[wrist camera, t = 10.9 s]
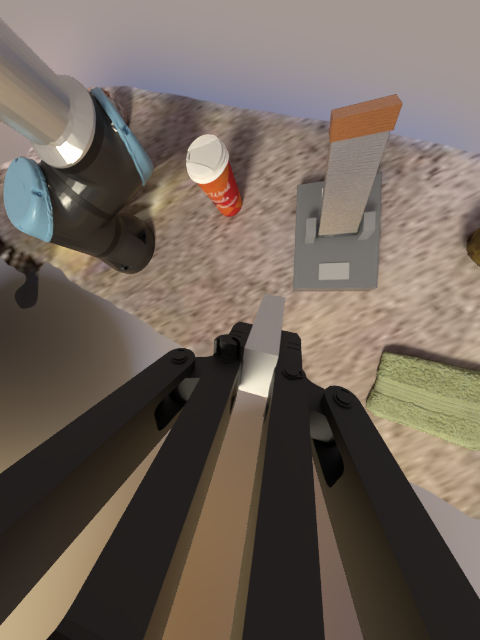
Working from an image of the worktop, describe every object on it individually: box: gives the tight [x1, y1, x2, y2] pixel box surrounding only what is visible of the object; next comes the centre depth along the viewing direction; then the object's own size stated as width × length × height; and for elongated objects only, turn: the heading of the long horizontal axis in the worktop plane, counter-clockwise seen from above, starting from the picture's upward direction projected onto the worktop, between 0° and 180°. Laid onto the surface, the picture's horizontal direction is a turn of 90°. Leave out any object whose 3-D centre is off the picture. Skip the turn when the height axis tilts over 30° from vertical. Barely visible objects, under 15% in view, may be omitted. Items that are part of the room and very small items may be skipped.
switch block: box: [293, 172, 382, 291], centre depth 35 cm, size 20×14×7 cm
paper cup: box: [186, 134, 242, 217], centre depth 38 cm, size 8×8×14 cm
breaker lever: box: [316, 94, 402, 238], centre depth 28 cm, size 3×6×16 cm, turn 88°
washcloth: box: [366, 352, 480, 450], centre depth 33 cm, size 13×18×3 cm
